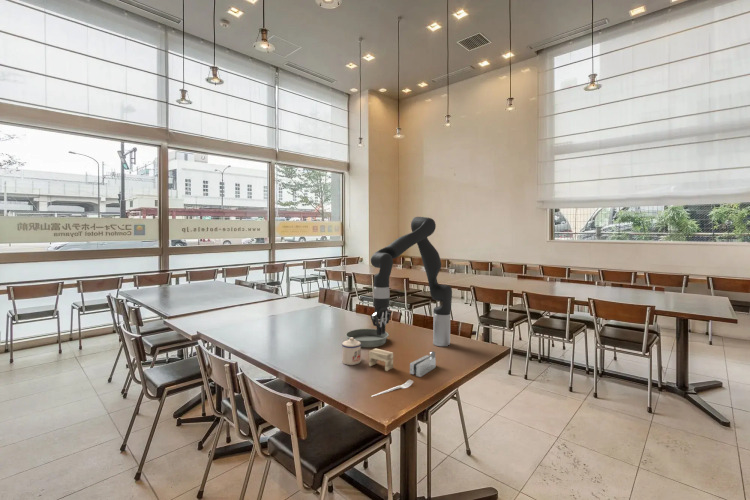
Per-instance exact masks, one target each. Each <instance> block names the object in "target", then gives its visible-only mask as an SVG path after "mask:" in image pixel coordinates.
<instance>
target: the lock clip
mask: <svg viewBox="0 0 750 500" xmlns="http://www.w3.org/2000/svg"><path fill="white" fill-rule="evenodd" d="M378 361H381V362H384V371H385V372H388V371H390V370H392V369H393V368H394V352H392V351H388V350H384V349H379V348H376V347H374V348H373V349H371V350H369V351H368V366H369V367H373V366H374V365H376V364H378Z"/></svg>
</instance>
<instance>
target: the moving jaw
mask: <svg viewBox="0 0 750 500" xmlns="http://www.w3.org/2000/svg"><path fill="white" fill-rule="evenodd" d="M431 356H433V357H436V351H433V350H432V351H429V355H428V354H425V355H424V356H422V357H419V358H417V359H416V360H414V361H411V362H409V375H416V365H417V364H419V363H421V362H423V361H424V360H426V359H428V358H430V357H431Z"/></svg>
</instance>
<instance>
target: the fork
mask: <svg viewBox="0 0 750 500" xmlns="http://www.w3.org/2000/svg"><path fill="white" fill-rule="evenodd" d="M413 383H414V381H413V380H411V379H408V380H407V381H405V383H403V384H401V385H397V386H394V387H390V388H389V389H386V390H383V391H381V392H378V393H376V394H373V395H371V397H376V396H379V395H383V394H386V393H389V392H392V391H395V390H398V389H407V388H410V387H411V386H412V384H413Z"/></svg>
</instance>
